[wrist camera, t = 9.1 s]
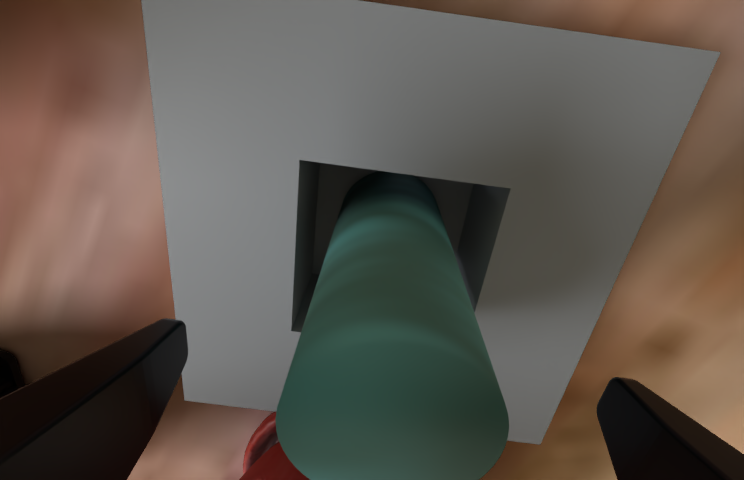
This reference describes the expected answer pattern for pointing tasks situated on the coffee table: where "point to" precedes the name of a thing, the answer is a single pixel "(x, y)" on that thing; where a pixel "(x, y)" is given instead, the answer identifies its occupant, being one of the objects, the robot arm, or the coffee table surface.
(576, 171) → the socket block
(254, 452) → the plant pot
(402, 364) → the peg
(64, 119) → the coffee table surface
